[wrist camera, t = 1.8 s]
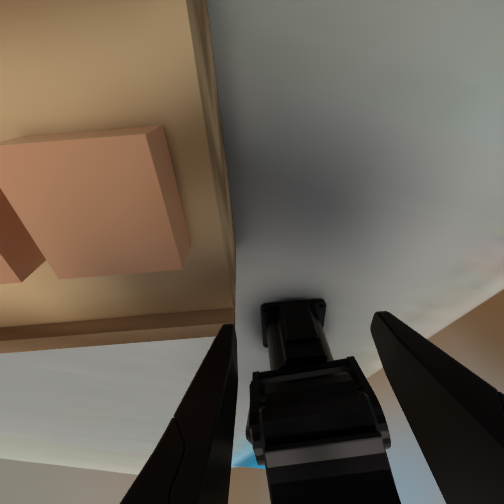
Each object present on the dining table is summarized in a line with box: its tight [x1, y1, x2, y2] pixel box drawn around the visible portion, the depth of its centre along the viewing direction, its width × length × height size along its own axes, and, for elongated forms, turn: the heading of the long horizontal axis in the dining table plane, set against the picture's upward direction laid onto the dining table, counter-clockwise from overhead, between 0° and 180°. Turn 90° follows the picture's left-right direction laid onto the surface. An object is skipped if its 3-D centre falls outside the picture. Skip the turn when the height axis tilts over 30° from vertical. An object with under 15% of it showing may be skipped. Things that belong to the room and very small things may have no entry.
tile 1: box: [0, 125, 191, 279], centre depth 10 cm, size 5×5×2 cm
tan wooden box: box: [0, 0, 236, 353], centre depth 13 cm, size 16×22×9 cm
